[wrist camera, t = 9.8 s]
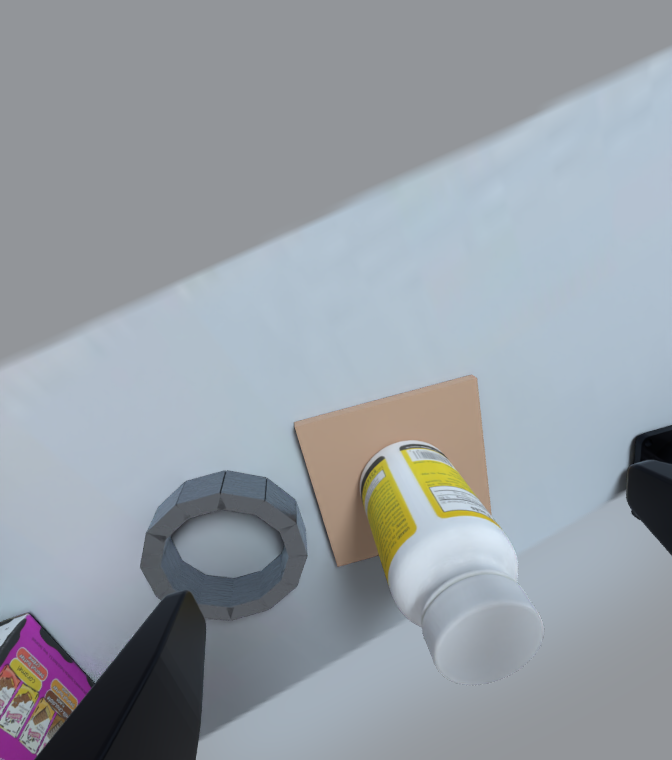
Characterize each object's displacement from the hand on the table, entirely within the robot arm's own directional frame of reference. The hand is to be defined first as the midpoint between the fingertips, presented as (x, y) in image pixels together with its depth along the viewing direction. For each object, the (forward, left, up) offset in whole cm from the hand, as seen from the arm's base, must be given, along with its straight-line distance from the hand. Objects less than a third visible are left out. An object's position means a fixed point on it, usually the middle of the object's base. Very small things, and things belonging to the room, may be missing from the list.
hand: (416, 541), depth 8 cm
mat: (-2, +8, -13) cm, 15 cm away
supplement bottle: (-2, +8, -13) cm, 15 cm away
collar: (+8, +9, -13) cm, 18 cm away
